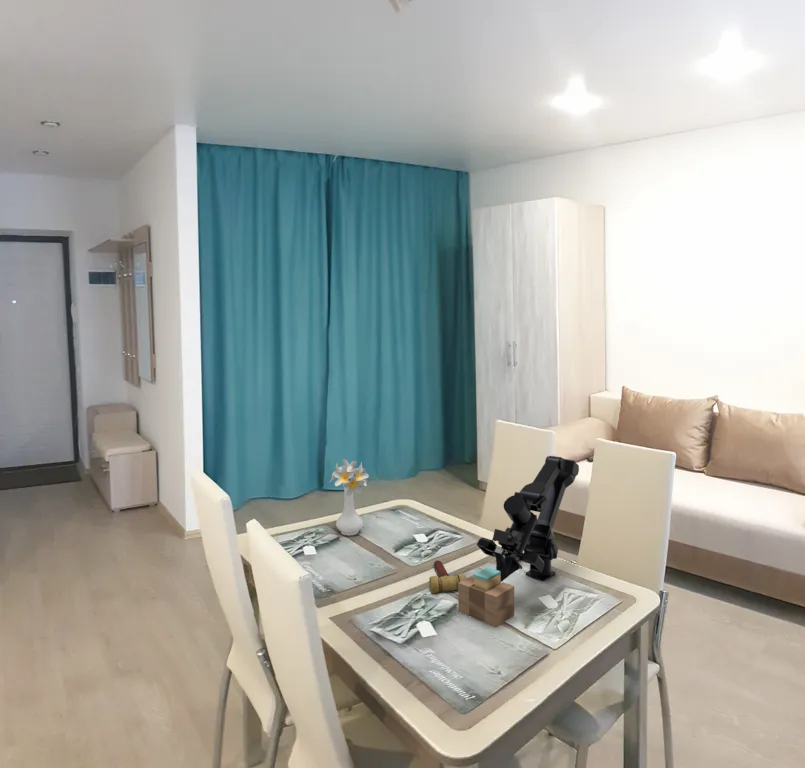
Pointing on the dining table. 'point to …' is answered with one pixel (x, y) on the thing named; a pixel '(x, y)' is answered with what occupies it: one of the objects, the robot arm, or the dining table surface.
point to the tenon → (487, 579)
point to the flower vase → (349, 496)
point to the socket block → (486, 602)
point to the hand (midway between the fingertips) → (496, 582)
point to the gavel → (444, 579)
